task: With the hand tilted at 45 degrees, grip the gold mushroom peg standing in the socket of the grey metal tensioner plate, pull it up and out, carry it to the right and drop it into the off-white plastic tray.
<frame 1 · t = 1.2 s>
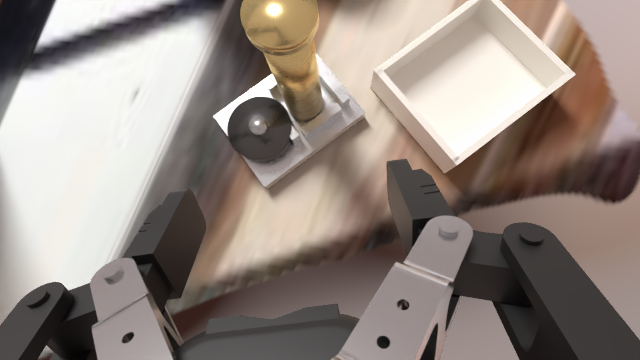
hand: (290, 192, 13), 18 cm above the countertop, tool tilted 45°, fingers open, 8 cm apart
tray: (458, 89, 32), on the countertop
gold mushroom peg: (304, 102, 32), point 1 cm above the countertop, touching tensioner plate
tensioner plate: (290, 118, 33), on the countertop
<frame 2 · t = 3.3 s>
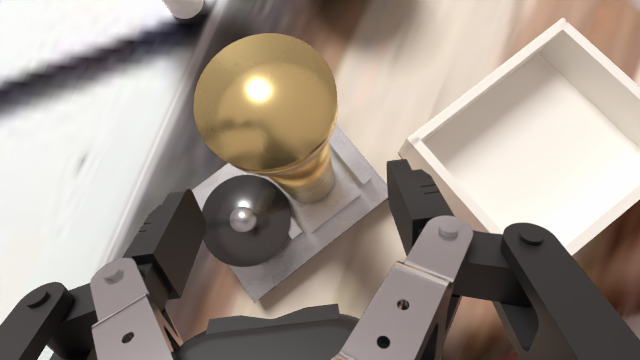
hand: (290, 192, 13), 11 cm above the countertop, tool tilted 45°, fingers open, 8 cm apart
tray: (520, 156, 23), on the countertop
gold mushroom peg: (308, 177, 23), point 1 cm above the countertop, touching tensioner plate
tensioner plate: (288, 197, 24), on the countertop
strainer: (187, 4, 28), on the countertop
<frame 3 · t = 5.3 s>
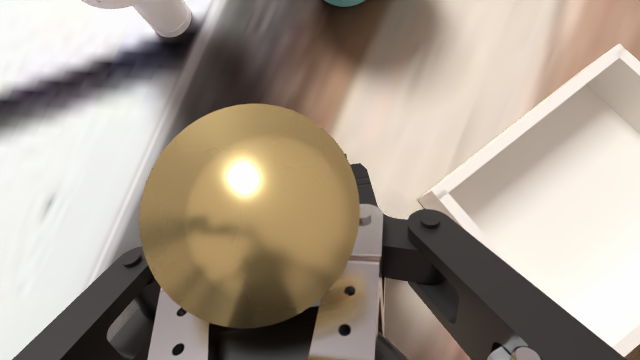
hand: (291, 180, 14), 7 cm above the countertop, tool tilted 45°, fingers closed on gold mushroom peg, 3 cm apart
tray: (562, 205, 20), on the countertop
gold mushroom peg: (311, 230, 19), point 1 cm above the countertop, touching gripper, tensioner plate
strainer: (173, 20, 24), on the countertop
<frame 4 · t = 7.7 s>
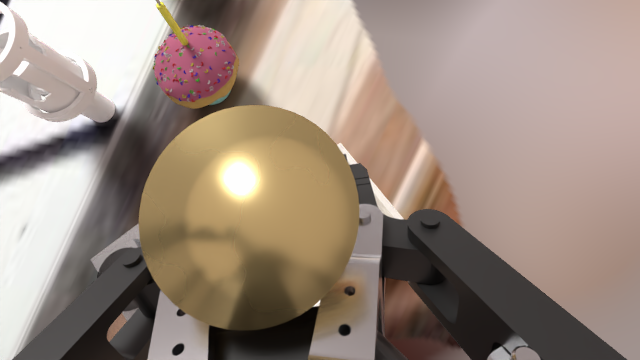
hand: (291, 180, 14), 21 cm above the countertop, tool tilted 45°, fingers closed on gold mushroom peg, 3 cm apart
tray: (324, 230, 34), on the countertop
gold mushroom peg: (311, 231, 19), point 15 cm above the countertop, touching gripper
tensioner plate: (166, 258, 34), on the countertop
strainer: (103, 110, 38), on the countertop
cupcake: (214, 87, 38), on the countertop
when the fingers open (9 cm above the countertop, at t = 10.2 s): gold mushroom peg drops 2 cm, resting on tray.
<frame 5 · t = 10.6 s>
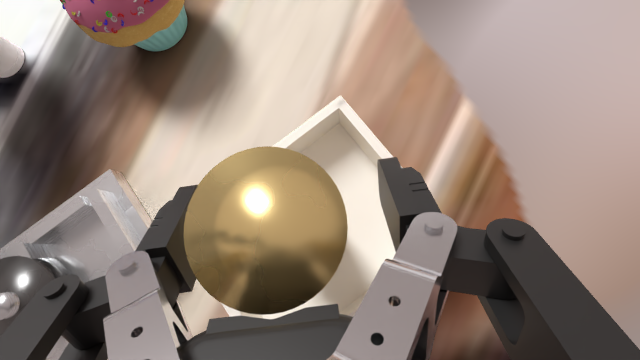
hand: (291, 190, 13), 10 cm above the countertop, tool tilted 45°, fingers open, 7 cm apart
tray: (315, 232, 23), on the countertop
gold mushroom peg: (311, 235, 22), point 1 cm above the countertop, touching tray
tensioner plate: (82, 271, 23), on the countertop
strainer: (9, 62, 27), on the countertop
cupcake: (163, 27, 27), on the countertop
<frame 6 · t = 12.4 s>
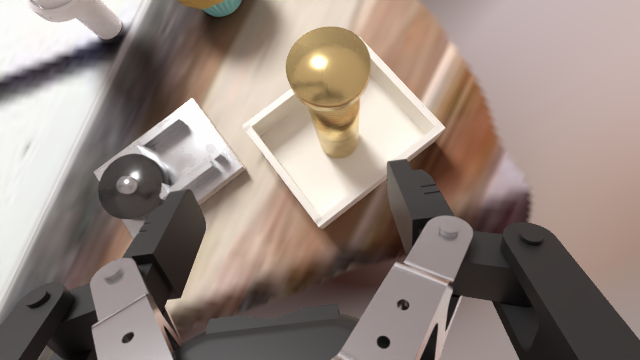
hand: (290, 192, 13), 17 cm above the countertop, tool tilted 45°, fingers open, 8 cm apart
tray: (341, 139, 31), on the countertop
gold mushroom peg: (339, 139, 30), point 1 cm above the countertop, touching tray
tensioner plate: (173, 172, 32), on the countertop
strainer: (110, 28, 37), on the countertop
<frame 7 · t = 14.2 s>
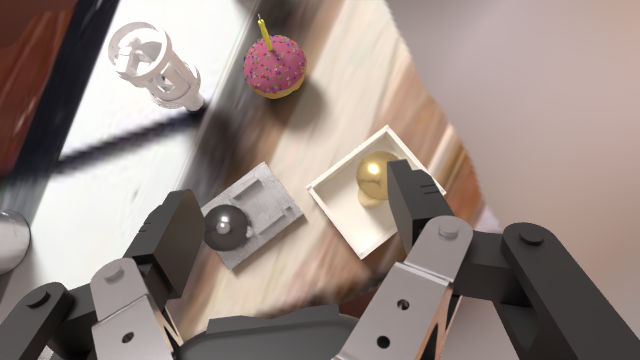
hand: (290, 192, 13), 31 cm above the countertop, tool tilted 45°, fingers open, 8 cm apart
tray: (372, 193, 44), on the countertop
gold mushroom peg: (371, 194, 43), point 1 cm above the countertop, touching tray
tensioner plate: (249, 214, 44), on the countertop
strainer: (194, 101, 48), on the countertop
cupcake: (281, 83, 48), on the countertop
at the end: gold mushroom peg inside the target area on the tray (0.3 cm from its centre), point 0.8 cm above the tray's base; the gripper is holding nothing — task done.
